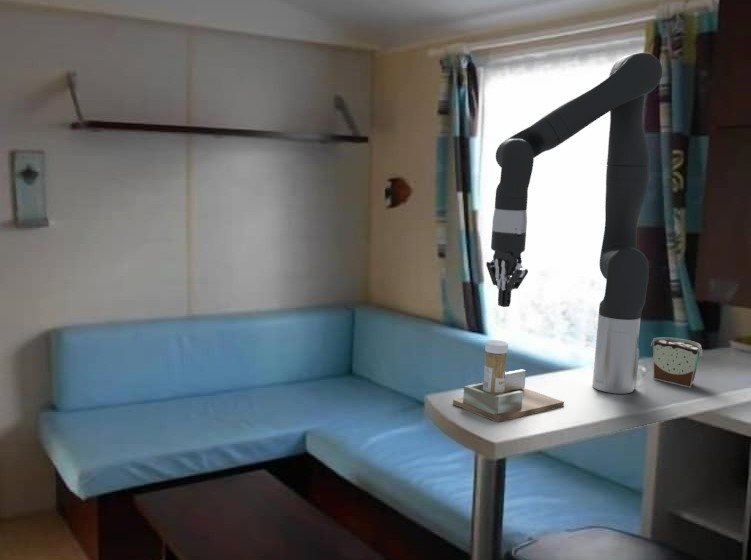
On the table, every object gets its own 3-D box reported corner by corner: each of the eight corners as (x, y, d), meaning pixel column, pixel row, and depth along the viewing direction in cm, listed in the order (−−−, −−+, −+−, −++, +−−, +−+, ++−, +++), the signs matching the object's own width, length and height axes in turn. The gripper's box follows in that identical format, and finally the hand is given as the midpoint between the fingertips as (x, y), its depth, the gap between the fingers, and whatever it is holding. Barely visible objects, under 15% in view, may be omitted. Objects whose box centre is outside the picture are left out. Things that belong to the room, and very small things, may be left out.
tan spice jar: (504, 409, 161) (509, 345, 159) (482, 408, 161) (486, 344, 159) (502, 402, 165) (506, 340, 163) (480, 401, 166) (484, 338, 163)
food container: (707, 384, 189) (712, 344, 188) (696, 389, 185) (701, 347, 184) (659, 373, 198) (663, 334, 196) (647, 377, 194) (651, 337, 192)
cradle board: (518, 390, 178) (519, 371, 177) (563, 406, 168) (565, 385, 167) (453, 404, 166) (454, 383, 165) (497, 422, 156) (498, 400, 155)
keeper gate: (490, 395, 169) (492, 377, 168) (484, 393, 170) (486, 375, 170) (525, 388, 175) (526, 370, 175) (519, 386, 177) (520, 368, 176)
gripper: (478, 226, 179) (473, 301, 182) (513, 233, 168) (507, 312, 170) (505, 226, 183) (500, 300, 185) (541, 232, 171) (535, 311, 174)
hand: (503, 306), depth 178 cm, fingers closed
